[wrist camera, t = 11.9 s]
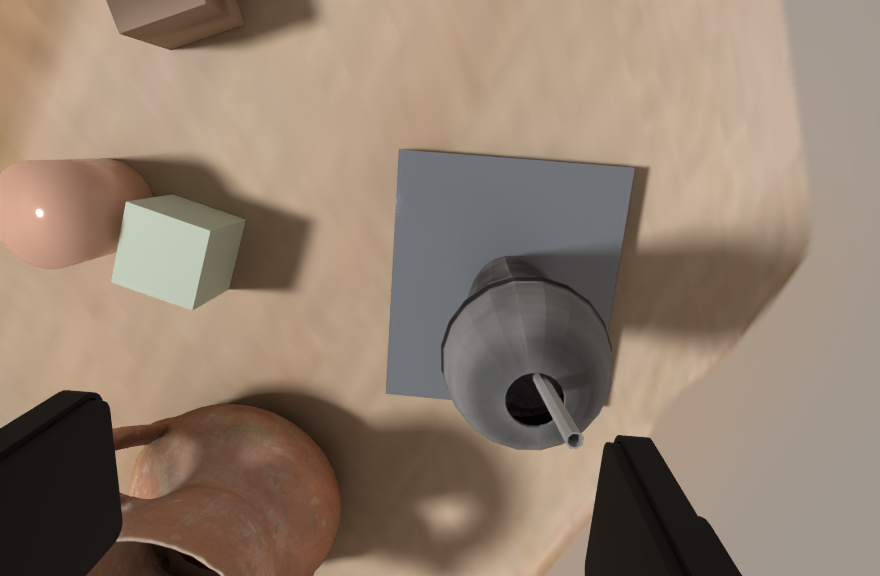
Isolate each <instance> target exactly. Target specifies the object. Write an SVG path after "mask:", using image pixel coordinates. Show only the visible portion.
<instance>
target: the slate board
mask: <svg viewBox="0 0 880 576" xmlns="http://www.w3.org/2000/svg"><path fill="white" fill-rule="evenodd" d="M634 170H635V168H632V167H621V166H608V165H596V164H583V163H570V162H557V161H544V160H531V159H518V158H506V157H493V156H480V155H467V154H454V153H441V152H429V151H416V150H403V149H399V157H398V176H397V195H396V213H395V232H394V250H393V269H392V288H391V306H390V325H389V344H388V362H387V381H386V394H395V395H406V396H416V397H426V398H437V399H447V400H452V398H451V395H450V393H449V390H448V387H447V385H446V382H445V379H444V376H443V373H442V371H441V344H442V341H443V338H444V335H445V332H446V329H447V326H448V323H449V321H450V319H451V318H452V317H453V315H454V314H455V313H456V311H457V310H458V309H459V307H460V306H461V305H462V303H463V302H464V301H465V300H466V299H467V297H468V294H469V292H470V289H471V287H472V284H473V281H474V279H475V278H476V276H477V274H478V273H479V272H480V270H481V269H482V268H483V266H484V265H486V264H487V263H489V262H490V261H492V260H493V259H496V258H499V257H502V256H517V257H520V258H523V259H526V260H527V261H529V262H531V263H533V264H534V265H535V266H537V267H538V268H539V269H541V270H542V271H543V272H544V273H545V274H546V275H547V276H549V277H550V278H551V279H552V280H553V281H556V282H559V283H562V284H565V285H568V286H569V287H571V288H572V289H574V290H575V291H576V292H578V293H579V294H580V295H582V296H583V297H585V298H586V299H587V300H589V301H590V302H591V304H592V305H593V307H594V308H595V310H596V311H597V312H598V314H599V315H600V317H601V318H602V319H603V321H604V322H605V326H606V329H607V333H608V330H609V323H610V317H611V311H612V305H613V299H614V293H615V287H616V280H617V274H618V268H619V262H620V256H621V250H622V244H623V237H624V231H625V225H626V219H627V213H628V207H629V201H630V194H631V188H632V182H633V176H634Z"/></svg>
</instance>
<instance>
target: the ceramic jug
mask: <svg viewBox="0 0 880 576" xmlns="http://www.w3.org/2000/svg"><path fill="white" fill-rule="evenodd" d="M112 431H113V439H114V448H115V450H120V449H124V448H129V447H134V446H140V445H145V446H144V448H143V450H142V451H141V453H140V455H139V456H138V458H137V461H136V463H135V465H134V468H133V471H132V475H131V479H130V485H129V496H128V495H124V494H122V493H120V501H121V510H122V518H123V525H122V530H121V533H120V535H119V537H118V539H117V541H116V542H115V543H114V545H113V546H112V547H111V548H110V549H109V550H108V551H107V553H106V554H105V555H104V556H103V557H102V558H101V559H100V561H99V562H98V563H97V564H96V565H95V566H94V567H93V569H92V570H91V571H90V572H89V573H88V574H87V575H86V576H313V574H314V572H315V571H316V570H317V569H318V567H319V566H320V565H321V564H322V563H323V561H324V560H325V558H326V557H327V555H328V554H329V552H330V550H331V548H332V546H333V544H334V541H335V539H336V536H337V532H338V528H339V524H340V516H341V502H340V494H339V488H338V484H337V480H336V477H335V474H334V471H333V469H332V467H331V464H330V462H329V461H328V459H327V457H326V455H325V454H324V453H323V451H322V450H321V449H320V447H319V446H318V445H317V444H316V443H315V441H314V440H313V439H312V438H311V437H310V436H308V435H307V434H306V433H305V432H304V431H303V430H302V429H300V428H299V427H298V426H296V425H295V424H293V423H292V422H290V421H289V420H287V419H285V418H283V417H281V416H279V415H277V414H275V413H273V412H270V411H267V410H264V409H261V408H257V407H253V406H248V405H241V404H216V405H210V406H206V407H201V408H198V409H195V410H192V411H189V412H187V413H184V414H182V415H179V416H177V417H172V418H167V419H163V420H160V421H156V422H154V423H152V424H150V425H138V426H128V427H120V428H115V429H112Z"/></svg>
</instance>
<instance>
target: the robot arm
mask: <svg viewBox="0 0 880 576" xmlns="http://www.w3.org/2000/svg"><path fill="white" fill-rule="evenodd" d="M122 525H123V518H122V510H121V501H120V492H119V483H118V475H117V466H116V457H115V448H114V439H113V431H112V422H111V413H110V407H109V405H108V403H107V402H105V401H103V400H102V398H101V396H100V395H99V394H97V393H94V392H82V391H70V390H63V391H61V392H59V393H57V394H55V395H54V396H52V397H50V398H49V399H47V400H46V401H44V402H42V403H41V404H39V405H38V406H36V407H34V408H33V409H31V410H29V411H28V412H26V413H25V414H23V415H21V416H20V417H18V418H17V419H15V420H13V421H12V422H10V423H8V424H7V425H5V426H4V427H2V428H0V576H86V575H87V574H88V573H89V572H90V571H91V570H92V569H93V567H94V566H95V565H96V564H97V563H98V562H99V561H100V559H101V558H102V557H103V556H104V555H105V554H106V553H107V551H108V550H109V549H110V548H111V547H112V546H113V545H114V543H115V542H116V541H117V539H118V537H119V535H120V533H121V530H122ZM585 576H742V575H741V573H740V572H739V570H738V569H737V567H736V565H735V564H734V562H733V561H732V559H731V557H730V556H729V554H728V553H727V551H726V549H725V548H724V546H723V544H722V543H721V541H720V540H719V538H718V536H717V535H716V533H715V532H714V530H713V528H712V527H711V525H710V524H709V523H708V522H707V520H706V519H704V518H702V517H700V516H697V514H696V512H695V511H694V509H693V507H692V506H691V504H690V502H689V501H688V499H687V498H686V496H685V494H684V492H683V491H682V489H681V487H680V486H679V484H678V483H677V481H676V479H675V477H674V476H673V474H672V472H671V471H670V469H669V468H668V466H667V464H666V463H665V461H664V459H663V458H662V456H661V455H660V453H659V451H658V449H657V448H656V446H655V444H654V443H653V441H652V440H651V439H650V438H647V437H635V436H623V435H618V436H617V437H616V438H615V440H614V443H611V442H606V443H605V445H604V449H603V455H602V461H601V467H600V473H599V479H598V486H597V492H596V498H595V504H594V510H593V517H592V523H591V529H590V535H589V542H588V548H587V554H586V560H585Z"/></svg>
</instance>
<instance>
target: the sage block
mask: <svg viewBox="0 0 880 576" xmlns="http://www.w3.org/2000/svg"><path fill="white" fill-rule="evenodd" d="M245 222H246V219H243V218H240V217H237V216H234V215H231V214H228V213H225V212H223V211H220V210H217V209H214V208H211V207H208V206H205V205H202V204H199V203H197V202H194V201H191V200H188V199H185V198H182V197H179V196H176V195H174V194H171V195H165V196H159V197H152V198H146V199H139V200H133V201H126V204H125V209H124V215H123V220H122V226H121V231H120V237H119V242H118V248H117V253H116V259H115V264H114V270H113V275H112V280H111V283H114V284H117V285H120V286H123V287H126V288H128V289H131V290H134V291H137V292H140V293H143V294H146V295H149V296H152V297H155V298H158V299H161V300H163V301H166V302H169V303H172V304H175V305H178V306H181V307H184V308H187V309H190V310H194V309H196V308H197V307H199V306H201V305H203V304H204V303H206V302H208V301H210V300H211V299H213V298H215V297H217V296H218V295H220V294H222V293H223V292H225V291H227V290H229V287H230V283H231V279H232V275H233V271H234V267H235V263H236V259H237V255H238V251H239V246H240V242H241V238H242V234H243V230H244V226H245Z"/></svg>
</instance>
